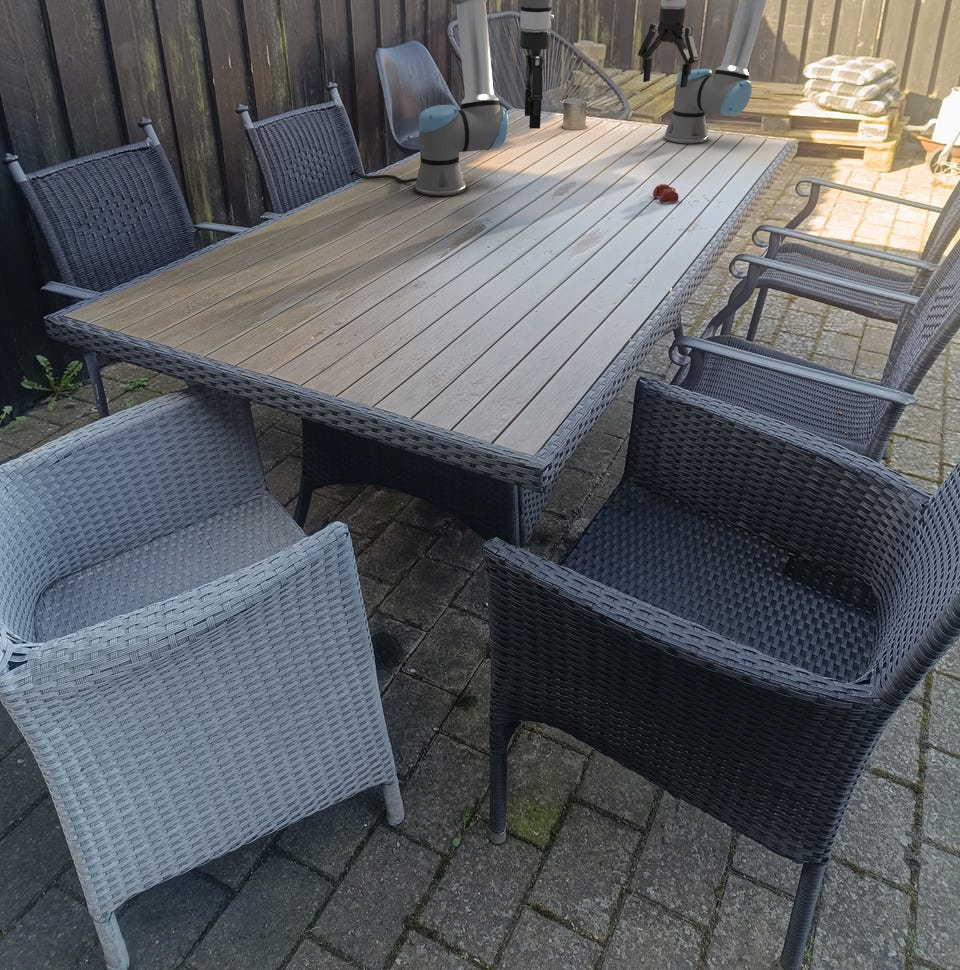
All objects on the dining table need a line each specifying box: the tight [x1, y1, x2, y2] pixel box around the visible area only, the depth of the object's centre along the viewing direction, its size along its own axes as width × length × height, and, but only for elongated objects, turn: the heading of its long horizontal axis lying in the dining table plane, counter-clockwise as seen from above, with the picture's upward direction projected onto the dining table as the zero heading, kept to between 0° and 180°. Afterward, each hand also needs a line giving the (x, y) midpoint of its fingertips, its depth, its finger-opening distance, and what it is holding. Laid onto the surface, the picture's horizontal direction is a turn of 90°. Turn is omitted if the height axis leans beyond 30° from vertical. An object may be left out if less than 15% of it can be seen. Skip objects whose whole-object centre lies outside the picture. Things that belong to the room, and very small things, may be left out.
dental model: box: [652, 183, 679, 203], centre depth 249 cm, size 6×4×8 cm
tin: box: [562, 98, 588, 131], centre depth 322 cm, size 9×9×9 cm
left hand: (532, 121), depth 219 cm, fingers open, 13 cm apart
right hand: (664, 84), depth 266 cm, fingers open, 13 cm apart
